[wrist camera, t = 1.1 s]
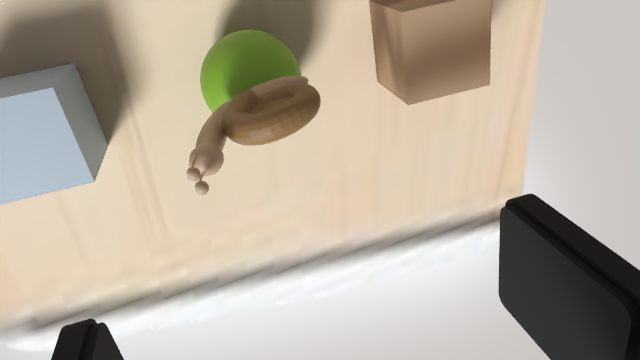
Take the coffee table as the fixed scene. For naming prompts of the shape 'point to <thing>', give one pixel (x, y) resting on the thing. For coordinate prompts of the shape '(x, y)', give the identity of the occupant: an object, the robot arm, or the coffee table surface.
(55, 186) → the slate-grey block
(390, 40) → the walnut block
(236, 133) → the snail figurine
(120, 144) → the coffee table surface
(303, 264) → the coffee table surface
